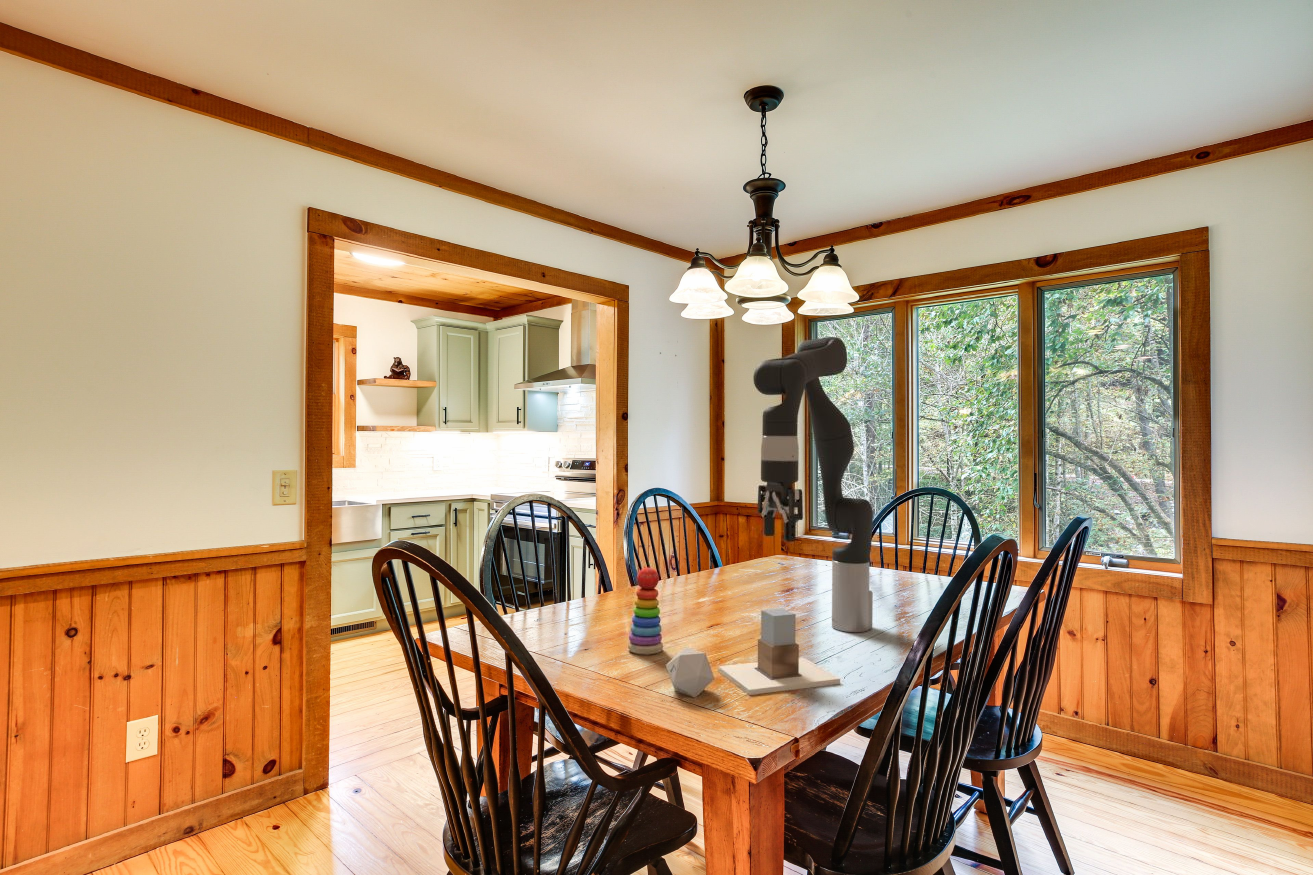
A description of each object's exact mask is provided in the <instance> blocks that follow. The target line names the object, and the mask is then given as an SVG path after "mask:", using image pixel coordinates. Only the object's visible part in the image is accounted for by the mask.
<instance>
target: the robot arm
mask: <svg viewBox="0 0 1313 875" xmlns="http://www.w3.org/2000/svg"><path fill="white" fill-rule="evenodd" d="M847 365H848V352H847V347H846V344H845V342H844V341H843V339H841V338H839V337H836V336H827V337H820V338H813V339H807V340H803V341H801V342H800V343H799V344H798V346H797V351H796V352H795V353H792V354H789V355H787V356H785V357H780V358H772V359H767V360H763V361H761V362H760V363H759V364H758V365H757V366H756V368H755V369H754V372H753V378H752V379H753V380H752V381H753V384H754V387H755V388H756V390H757V391H758V392H759V393H761V394H762V395H766V396H779V395H780V396H782V395H785V397H784V399H783V401H782V402H781V403H780V404H778V405H773V406H769V407H767V408H765V409H764V410H763V412H762V421H761V422H762V423H761V424H762V428H761V429H762V438H761V444H760V447H761V448H760V481H761V482H763V483H766V484H762V485H758V487H757V488H758V490H757V491H758V492H757V514H761V517H762V518H763V528H762V532H763V536H765V537H774V536H775V521H776V520H775V518H774V517H775V515H776V513H777V511H778V512H779V514H781V515H782V518H783V521H784V522H783V540H784V542H785V543H786V542H787V543H791V542H793V543H794V542H796V539H797V538H796V537H797V533H796V530H797V523H798V522H799V521H802V520H803V519H804V505H803V502H804V500H803V490H802V489H801V488H798V489H797V488H796V489H794V487H793V484H794V483H797V482H798V481H799V464H800V463H799V455H800V453H799V450H800V448H799V441H798V440H799V439H798V419H799V412H800V406H801V402H802V400H803V396H804V393H805V395H806V400H807V403H808V410H809V414H810V420H811V426H812V432H813V433H812V434H813V440H814V445H815V450H816V454H817V458H818V459H817V460H818V463H819V470H820V476H821V483H822V491H823V494H822V495H823V504H824V515H825V520H826V525H827V527H828V528H829V530H830V531H832V532H834V533H838V534H847V535H851V540H850V541H849V543H847V544H845V545H841V546H837V547H834V549H832V555H831V556H832V560H831V561H832V562H831V563H832V564H831V565H832V567H831V568H832V569H831V581H832V582H831V588H832V589H831V627H832V628H833V629H835V630H837V631H841V632H849V633H863V632H867V631H869V630H872V629H873V617H874V616H873V613H874V612H873V610H874V609H873V607H874V605H873V604H874V603H873V600H874V599H873V596H874V595H873V593H874V592H873V591H872V590H870V560H871V559H870V558H871V551H872V538H873V523H874V522H873V521H874V513H873V507H872V505H871V502H870V501H869V500H867V499H865V498H855V497H853V498H852V497H844V494H843V491H842V482H843V477H844V475H845V472H846V471H847V470H846V469H847V468H848V466H849V464H850V462H851V461H852V457H853V455H854V451H855V446H854V445H855V444H854V437H853V433H852V432H853V431H852V427H851V424H850V421H849V420H848V418H847V417H846V416H845V415H844V413H843V412H842V411H841V410H840V409H839V408H838V406H836V405H835V404H834V403H833V401H832V400H831V399H830V398H829V397H828V394H827V393H826V391H825V390H824V388H823V386H822V383H821V381H820V378H821V377H822V378H823V377H830V376H837V375H839V374H842V373H843V372H844V371H845V369H846V368H847Z"/></svg>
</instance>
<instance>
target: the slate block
mask: <svg viewBox="0 0 1313 875" xmlns="http://www.w3.org/2000/svg"><path fill="white" fill-rule="evenodd" d="M760 613H761V614H760V616H761V617H760V619H761V620H760V639H761V640H763V641H765V642H766V643H768V644H770V645H772V646H782V645H791V644H795V643H796V624H797V623H796V621H797V620H796V617H797V616H796V613H794V612H793V611H790V610H787V609H786V608H783V607H782V608H771V609H769V608H768V609H762V610H760Z"/></svg>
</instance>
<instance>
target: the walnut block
mask: <svg viewBox="0 0 1313 875" xmlns="http://www.w3.org/2000/svg"><path fill="white" fill-rule="evenodd" d="M799 658H800V645H799V643H797V642H795V644H791V645H782V646H772V645H770V644H768V643H766V642H765V641H763V640H761V638H758V639H757V662H758V669H760V670H761V671H763V672H764V673H765V674H767V675H768V676H770V677H771V678H775V677H783V676H792V675H799Z"/></svg>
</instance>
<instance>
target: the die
mask: <svg viewBox="0 0 1313 875" xmlns="http://www.w3.org/2000/svg"><path fill="white" fill-rule="evenodd" d="M710 664H711V663H709V659H708V656H707V654H706V652H702V651H700V650H696V649H692V648H689V647H684V648H683V649H682V650H680V652H678V653H676V655H675V656H674V657H673V658H672V659H671V660H670V661H669V662H668V663H666V664H665V667H666V670H667V673H668V676H669V678H670V681H671V683H672V687H673V690H674V691H675V692H678V693H681V694H683V695H686V696H689V697H693V698H696V697H697V696H699V695H700V694H701V693H702V692H703V691H704V690H705V689H706V688H707V687H708V686H709V685H710V684H711V683H712V682H713V681H714V680H715V676H714V672H713V671H712V667H711V665H710Z"/></svg>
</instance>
